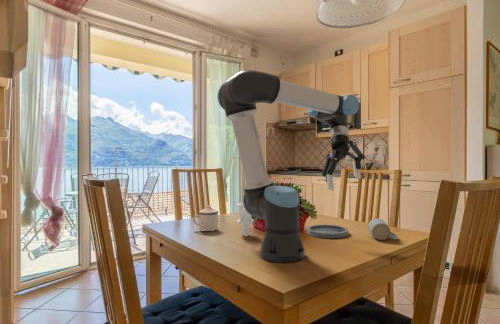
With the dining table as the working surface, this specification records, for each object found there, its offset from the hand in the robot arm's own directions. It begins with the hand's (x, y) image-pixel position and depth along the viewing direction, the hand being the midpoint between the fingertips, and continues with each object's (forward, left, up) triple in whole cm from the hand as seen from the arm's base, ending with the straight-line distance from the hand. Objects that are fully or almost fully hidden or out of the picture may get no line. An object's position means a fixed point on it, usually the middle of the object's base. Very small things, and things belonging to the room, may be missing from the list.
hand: (343, 183), depth 115 cm
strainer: (-35, +23, -24) cm, 48 cm away
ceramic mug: (+19, +5, -24) cm, 31 cm away
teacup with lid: (-52, +37, -24) cm, 68 cm away
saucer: (+1, +18, -23) cm, 29 cm away
